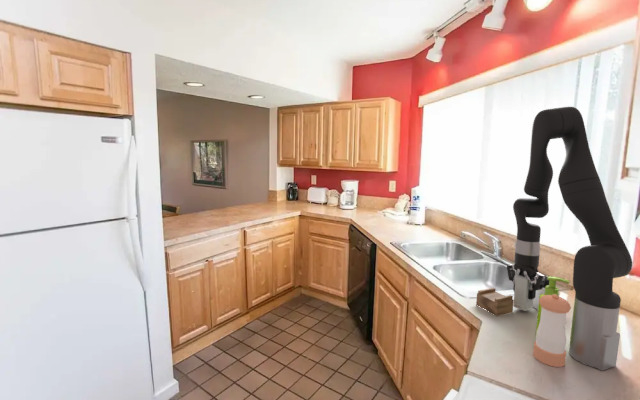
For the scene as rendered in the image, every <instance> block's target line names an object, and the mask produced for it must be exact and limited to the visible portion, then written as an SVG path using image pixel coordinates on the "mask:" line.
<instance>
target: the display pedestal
mask: <svg viewBox="0 0 640 400" xmlns="http://www.w3.org/2000/svg"><path fill="white" fill-rule="evenodd" d="M475 303H476V304H475V305H476V306H477V305H478V306H480V307H481V308H480V307H479V308H480V309H482V308H484V309H486V310H487V311H486V310H485V311H486V312H488V311H489V312H488V313H490V314H491V313H492V315H493V314H494V315H493V316H495V317H499V316H503V315H509V314H513V310H514V295H511V294H509V295H504V294H502V293H501V292H500V293H499V292H498V291H496V287H491V288H486V289H480V290H478V291H477V292H476V302H475ZM478 306H477V307H478ZM484 309H483V310H484Z"/></svg>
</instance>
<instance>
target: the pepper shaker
mask: <svg viewBox="0 0 640 400" xmlns="http://www.w3.org/2000/svg"><path fill="white" fill-rule="evenodd" d="M539 303H540V306H541V307H542V310H541V318H540V323H539V326H538V329H537V334H536V333H535V335H536V337H535V341H534V342H533V350H532V351H533V352H532V354H533V356H534V358H535V359H536V360H537V361H539V362H540V363H542V364H544V365H547V366H550V367H553V368H561V367H564V366H565V364H566V358H567V351H566V344H567V335H566V333H567V332H566V322H567V321H566V320H567V318H566V317H567V314H568V313H569V312H570V310H571V309H572V307H571V304H570V303H569V301H568V300H567V299H565V298H562V297H561V296H560V295H559V296H558V295H556V294H553V295H544V296H542V297H541V298H540V299H539Z"/></svg>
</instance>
